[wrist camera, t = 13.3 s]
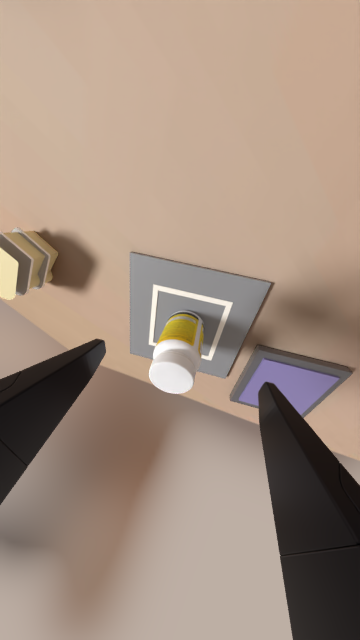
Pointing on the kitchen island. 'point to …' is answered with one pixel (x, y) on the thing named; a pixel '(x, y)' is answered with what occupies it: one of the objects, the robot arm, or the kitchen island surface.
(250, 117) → the kitchen island surface
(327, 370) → the pad
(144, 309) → the board
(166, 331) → the supplement bottle
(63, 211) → the kitchen island surface
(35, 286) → the cream tiered block
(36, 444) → the robot arm
